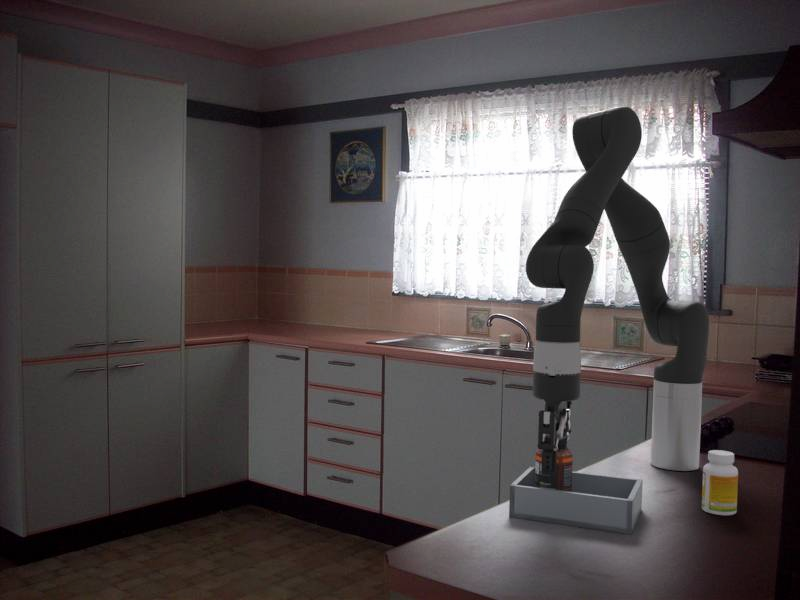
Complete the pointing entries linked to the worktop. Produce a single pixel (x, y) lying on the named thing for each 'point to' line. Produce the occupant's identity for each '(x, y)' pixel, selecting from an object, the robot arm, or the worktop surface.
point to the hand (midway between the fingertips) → (554, 468)
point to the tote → (580, 502)
